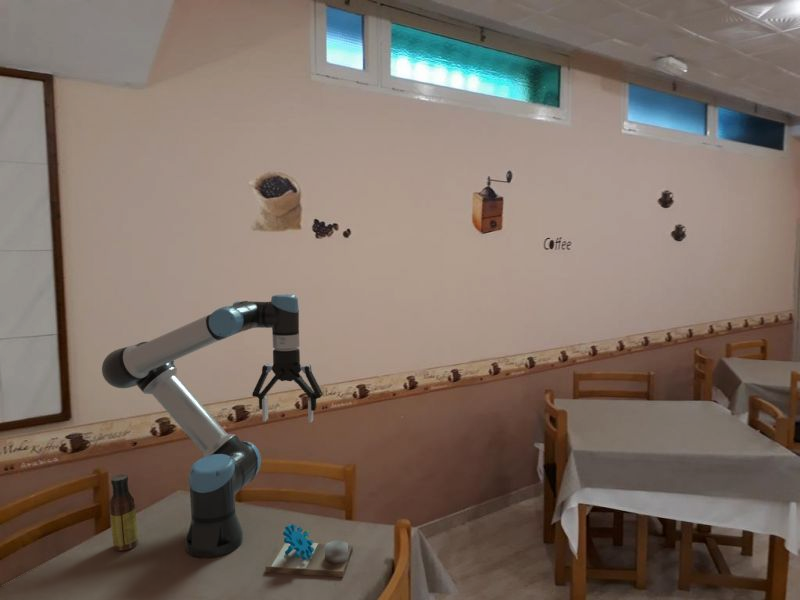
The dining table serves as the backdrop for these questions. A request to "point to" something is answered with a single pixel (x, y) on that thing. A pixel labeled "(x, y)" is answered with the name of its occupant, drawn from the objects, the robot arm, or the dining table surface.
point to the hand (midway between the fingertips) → (288, 420)
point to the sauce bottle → (123, 515)
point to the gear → (298, 542)
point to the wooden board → (312, 560)
